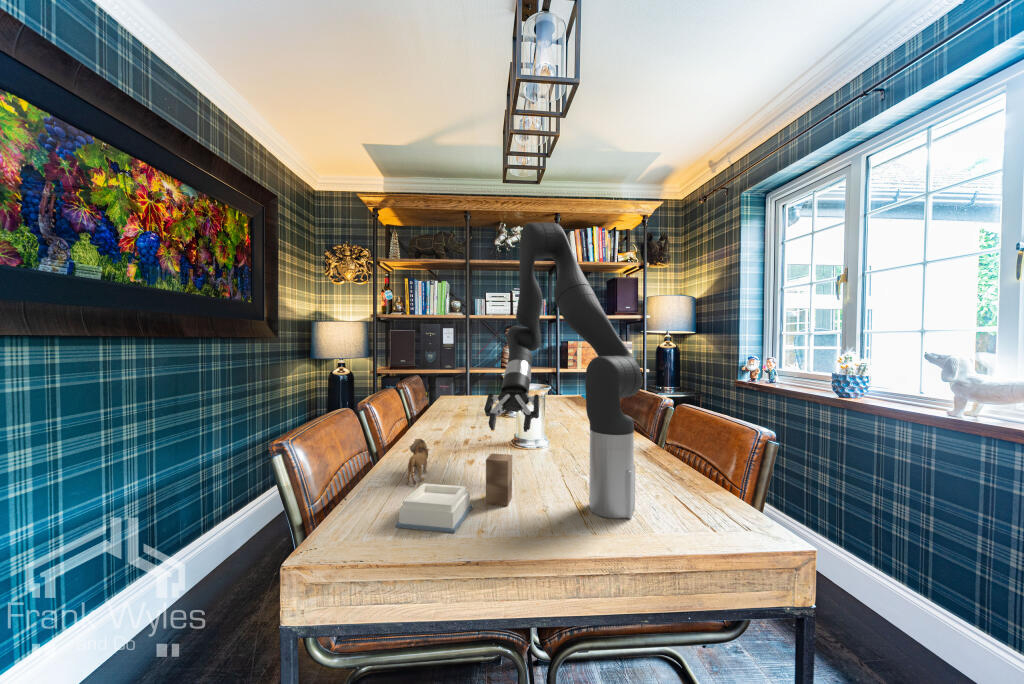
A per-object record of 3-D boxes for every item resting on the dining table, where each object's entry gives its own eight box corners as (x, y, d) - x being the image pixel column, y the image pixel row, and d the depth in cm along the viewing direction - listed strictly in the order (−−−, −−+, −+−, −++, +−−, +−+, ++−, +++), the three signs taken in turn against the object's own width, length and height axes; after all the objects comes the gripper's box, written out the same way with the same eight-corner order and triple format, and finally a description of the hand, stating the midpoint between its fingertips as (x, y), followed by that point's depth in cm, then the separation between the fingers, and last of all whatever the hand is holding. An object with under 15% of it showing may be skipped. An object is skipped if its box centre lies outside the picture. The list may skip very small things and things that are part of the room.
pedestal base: (472, 507, 89) (472, 485, 89) (454, 532, 77) (454, 507, 77) (420, 502, 91) (420, 481, 91) (395, 527, 80) (395, 502, 80)
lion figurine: (409, 469, 115) (409, 437, 115) (428, 468, 116) (428, 436, 116) (405, 488, 101) (405, 451, 101) (427, 486, 102) (427, 450, 102)
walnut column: (512, 497, 95) (512, 454, 95) (507, 506, 90) (507, 461, 90) (491, 496, 96) (491, 453, 96) (485, 504, 91) (485, 459, 91)
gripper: (489, 370, 113) (478, 419, 102) (541, 371, 110) (535, 422, 99) (494, 387, 118) (483, 436, 107) (543, 388, 116) (537, 438, 105)
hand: (508, 429), depth 103 cm, fingers open, 8 cm apart
